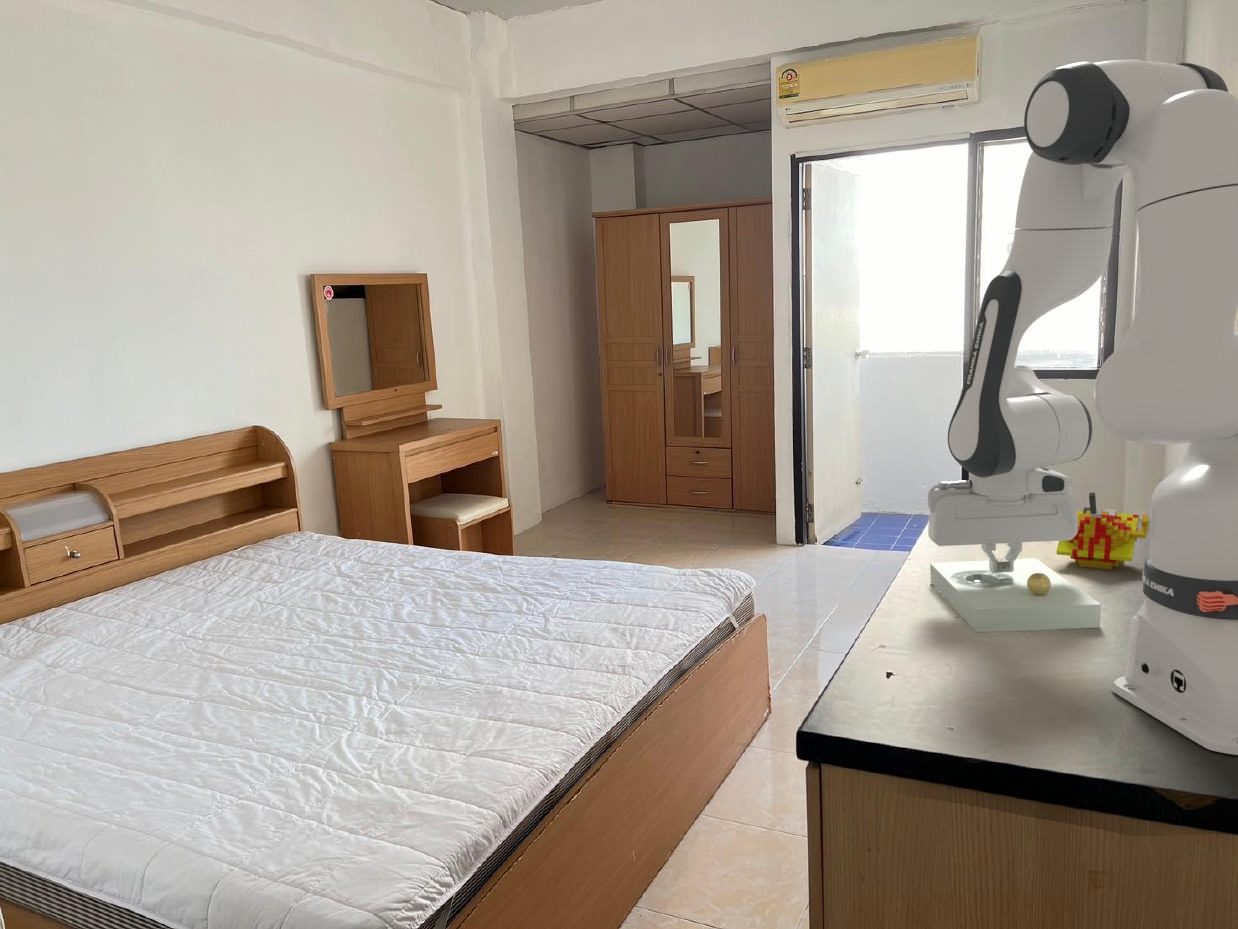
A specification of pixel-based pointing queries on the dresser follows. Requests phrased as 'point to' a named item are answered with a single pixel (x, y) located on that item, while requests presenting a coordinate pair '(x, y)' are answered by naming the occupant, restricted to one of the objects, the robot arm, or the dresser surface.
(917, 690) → the dresser surface
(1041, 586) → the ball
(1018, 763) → the dresser surface
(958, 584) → the board
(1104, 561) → the toy
